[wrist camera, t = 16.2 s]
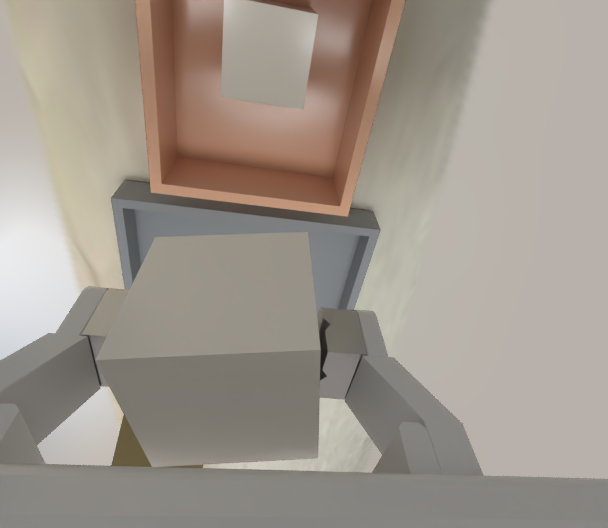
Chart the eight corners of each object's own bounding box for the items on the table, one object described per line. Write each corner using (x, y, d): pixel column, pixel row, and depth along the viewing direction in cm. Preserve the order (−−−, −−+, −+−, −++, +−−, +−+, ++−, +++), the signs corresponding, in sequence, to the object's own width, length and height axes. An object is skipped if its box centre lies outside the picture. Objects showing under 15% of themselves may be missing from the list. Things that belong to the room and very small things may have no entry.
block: (155, 237, 10) (94, 360, 7) (307, 231, 10) (320, 349, 7) (185, 340, 12) (152, 467, 9) (308, 335, 12) (317, 458, 9)
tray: (124, 180, 25) (110, 198, 23) (372, 211, 28) (380, 230, 25) (144, 335, 34) (135, 358, 32) (330, 348, 36) (333, 371, 34)
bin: (159, -65, 18) (128, -76, 14) (385, -17, 19) (410, -16, 16) (170, 160, 25) (151, 192, 21) (338, 183, 26) (347, 216, 22)
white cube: (233, -8, 19) (224, -5, 16) (312, 8, 19) (318, 14, 16) (229, 78, 21) (220, 96, 18) (299, 90, 22) (302, 110, 19)
